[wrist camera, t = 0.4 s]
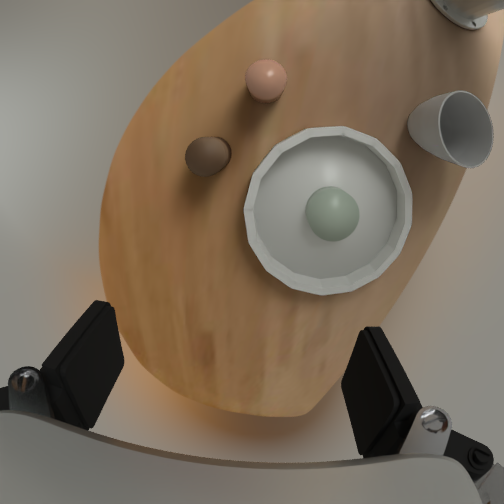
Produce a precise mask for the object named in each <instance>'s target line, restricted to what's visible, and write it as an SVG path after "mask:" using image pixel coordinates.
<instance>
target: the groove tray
mask: <svg viewBox="0 0 504 504" xmlns="http://www.w3.org/2000/svg"><path fill="white" fill-rule="evenodd" d="M244 216H245V223H246V229H247V236H248V242H249V244H250V246H251V248H252V249H253V251H254V252H255V254H256V256H257V257H258V259H259V260H260V262H261V264H262V265H263V267H264V268H265V270H266V271H267V272H269V273H270V274H271V275H273V276H274V277H276V278H277V279H279V280H280V281H282V282H283V283H284V284H286V285H287V286H289V287H290V288H292V289H296V290H300V291H304V292H308V293H313V294H317V295H329V294H337V293H344V292H351V291H354V290H356V289H357V288H359V287H361V286H363V285H365V284H367V283H369V282H371V281H373V280H374V279H376V278H378V277H380V276H381V274H382V273H383V272H384V271H385V270H386V269H387V268H388V267H389V266H390V265H391V263H392V262H393V261H394V260H395V259H396V258H397V257H398V256H399V255H400V254H399V253H401V250H402V248H403V246H404V243H405V241H406V238H407V236H408V233H409V231H410V228H411V224H412V191H411V188H410V185H409V183H408V180H407V178H406V175H405V173H404V170H403V168H402V165H401V163H400V162H399V160H398V159H397V158H396V157H395V156H394V155H393V154H392V153H391V152H390V151H389V150H388V149H387V148H386V147H385V146H384V145H383V144H382V143H381V142H380V141H379V140H378V139H376V138H374V137H372V136H369V135H367V134H364V133H362V132H359V131H356V130H354V129H351V128H348V127H345V126H335V127H319V128H307V129H304V130H302V131H300V132H298V133H296V134H294V135H292V136H290V137H288V138H286V139H285V140H283V141H281V142H279V143H277V144H276V145H274V146H273V148H272V149H271V150H270V151H269V153H268V154H267V155H266V156H265V157H264V158H263V160H262V161H261V163H260V164H259V165H258V167H257V168H256V169H255V171H254V172H253V175H252V179H251V182H250V186H249V190H248V194H247V198H246V202H245V205H244Z"/></svg>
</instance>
